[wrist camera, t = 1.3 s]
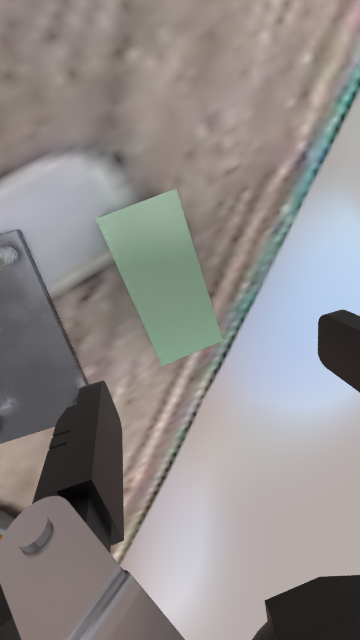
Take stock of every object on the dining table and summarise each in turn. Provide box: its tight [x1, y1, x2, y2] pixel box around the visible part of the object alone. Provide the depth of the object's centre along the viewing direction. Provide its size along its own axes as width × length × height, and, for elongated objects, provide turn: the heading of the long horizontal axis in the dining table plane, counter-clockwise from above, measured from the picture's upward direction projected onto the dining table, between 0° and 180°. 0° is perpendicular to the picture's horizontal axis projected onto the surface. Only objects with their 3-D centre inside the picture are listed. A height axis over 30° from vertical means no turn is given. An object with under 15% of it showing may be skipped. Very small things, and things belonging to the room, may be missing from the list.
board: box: [96, 189, 223, 366], centre depth 21 cm, size 12×6×5 cm, turn 19°
